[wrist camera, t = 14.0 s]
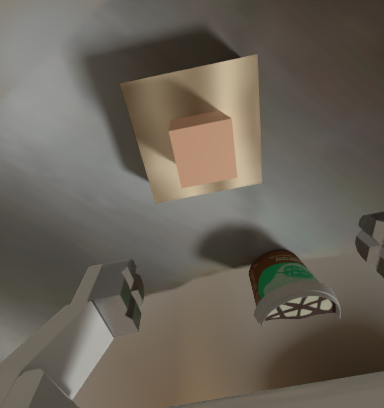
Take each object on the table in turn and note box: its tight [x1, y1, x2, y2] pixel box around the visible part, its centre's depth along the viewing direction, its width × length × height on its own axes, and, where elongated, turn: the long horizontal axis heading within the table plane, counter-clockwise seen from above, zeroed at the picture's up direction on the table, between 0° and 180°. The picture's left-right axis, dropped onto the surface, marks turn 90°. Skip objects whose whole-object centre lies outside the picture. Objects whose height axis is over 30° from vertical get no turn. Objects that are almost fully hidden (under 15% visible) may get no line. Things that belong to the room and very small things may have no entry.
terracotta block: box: [169, 110, 237, 188], centre depth 21 cm, size 5×5×6 cm
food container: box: [249, 250, 341, 327], centre depth 35 cm, size 12×6×10 cm, turn 95°
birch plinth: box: [120, 55, 262, 203], centre depth 26 cm, size 13×13×5 cm
